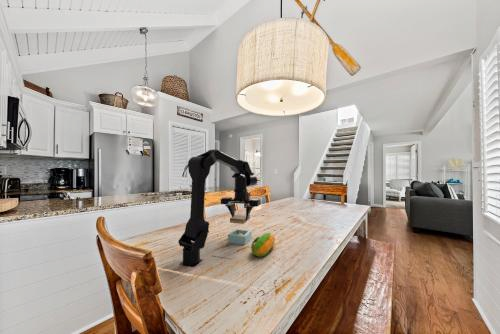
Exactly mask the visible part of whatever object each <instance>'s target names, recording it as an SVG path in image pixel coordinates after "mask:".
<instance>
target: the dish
mask: <svg viewBox="0 0 500 334" xmlns="http://www.w3.org/2000/svg"><path fill="white" fill-rule="evenodd" d="M252 232H253V231H252V230H251V229H250V230H249V229H240V228H235V229H233V230H232V231H231V232H228V234H227V243H229V244H237V245H244V246H246V245H247V244H248V243H249V241H250V240H252V236H253V235H252ZM239 233H241V234H243V235H238V234H239Z"/></svg>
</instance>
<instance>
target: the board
mask: <svg viewBox="0 0 500 334" xmlns="http://www.w3.org/2000/svg"><path fill="white" fill-rule="evenodd" d="M250 218H251V214H250V215H249V218H248V220H246V213H245V214H242V213H237V214H235V216H233V217H232V216H231V217H230V218H229V223H230V224H240V225H245V224H246V222H247V221H250Z"/></svg>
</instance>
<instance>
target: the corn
mask: <svg viewBox="0 0 500 334" xmlns="http://www.w3.org/2000/svg"><path fill="white" fill-rule="evenodd" d="M275 241H276V238H275V235H273V234H271V232H267V233H263V234H261V236H258V237H256V238H255V239H253V241H252V242H251V247H250V250H251V253H252V254H253V256H256V257H258V258H261V257H265V256H267V255H268V254H269V253H270V251H271V250H273V249H274V245H275Z"/></svg>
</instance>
